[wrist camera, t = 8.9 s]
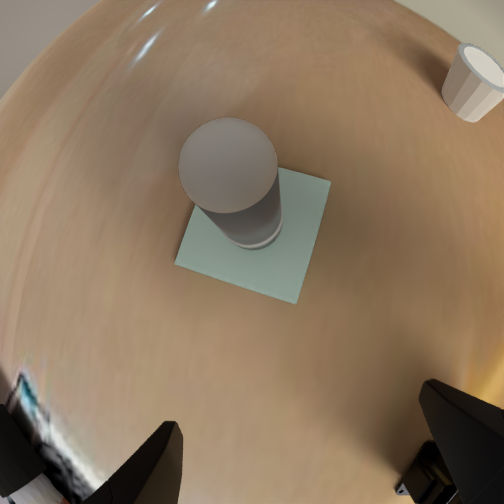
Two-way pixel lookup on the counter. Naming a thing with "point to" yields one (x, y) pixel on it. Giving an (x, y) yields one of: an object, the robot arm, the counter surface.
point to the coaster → (267, 259)
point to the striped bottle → (23, 468)
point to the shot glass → (473, 83)
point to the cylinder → (234, 180)
